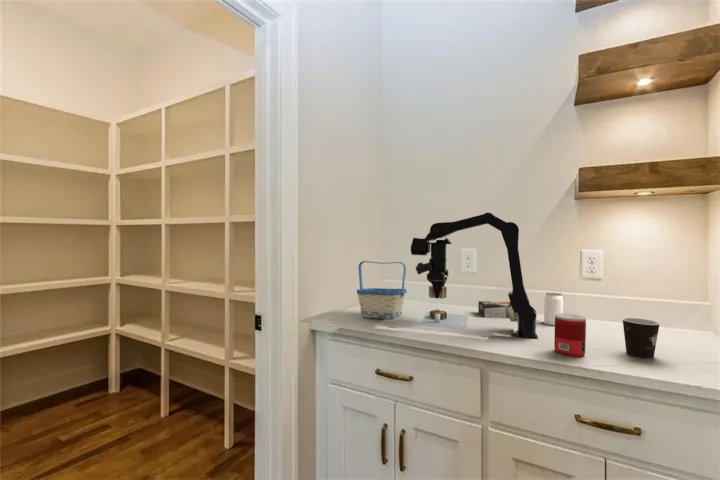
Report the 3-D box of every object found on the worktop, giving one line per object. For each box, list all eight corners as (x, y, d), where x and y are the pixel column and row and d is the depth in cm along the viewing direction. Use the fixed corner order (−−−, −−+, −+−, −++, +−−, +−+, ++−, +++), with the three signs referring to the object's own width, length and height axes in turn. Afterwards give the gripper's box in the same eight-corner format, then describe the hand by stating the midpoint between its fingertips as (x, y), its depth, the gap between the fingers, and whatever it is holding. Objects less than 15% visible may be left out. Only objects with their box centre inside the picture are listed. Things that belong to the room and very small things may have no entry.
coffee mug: (642, 350, 111) (642, 317, 111) (666, 360, 102) (667, 324, 102) (605, 350, 110) (605, 317, 110) (626, 360, 102) (627, 324, 102)
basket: (410, 316, 153) (411, 261, 153) (396, 324, 139) (397, 263, 139) (367, 311, 163) (367, 259, 163) (349, 318, 149) (349, 261, 148)
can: (561, 327, 138) (561, 295, 138) (542, 324, 142) (543, 294, 142) (563, 323, 143) (564, 293, 143) (545, 321, 147) (546, 292, 147)
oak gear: (445, 299, 134) (445, 288, 134) (427, 297, 136) (428, 287, 136) (447, 296, 140) (447, 286, 140) (430, 295, 143) (430, 285, 143)
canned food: (589, 358, 103) (590, 320, 103) (559, 356, 104) (560, 318, 104) (579, 350, 110) (579, 314, 110) (550, 348, 112) (551, 312, 112)
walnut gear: (445, 320, 142) (445, 312, 142) (428, 318, 144) (428, 310, 144) (447, 316, 148) (447, 308, 148) (431, 315, 150) (431, 307, 150)
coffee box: (524, 305, 147) (484, 304, 147) (524, 321, 147) (484, 320, 148) (515, 301, 156) (478, 300, 157) (515, 316, 156) (477, 315, 157)
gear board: (466, 332, 128) (466, 321, 128) (418, 328, 134) (418, 316, 134) (468, 318, 151) (468, 308, 151) (427, 314, 157) (428, 305, 157)
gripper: (421, 254, 150) (420, 291, 150) (413, 256, 132) (412, 299, 132) (448, 254, 146) (448, 293, 146) (444, 257, 128) (443, 301, 129)
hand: (437, 296), depth 138 cm, fingers closed on oak gear, 6 cm apart
